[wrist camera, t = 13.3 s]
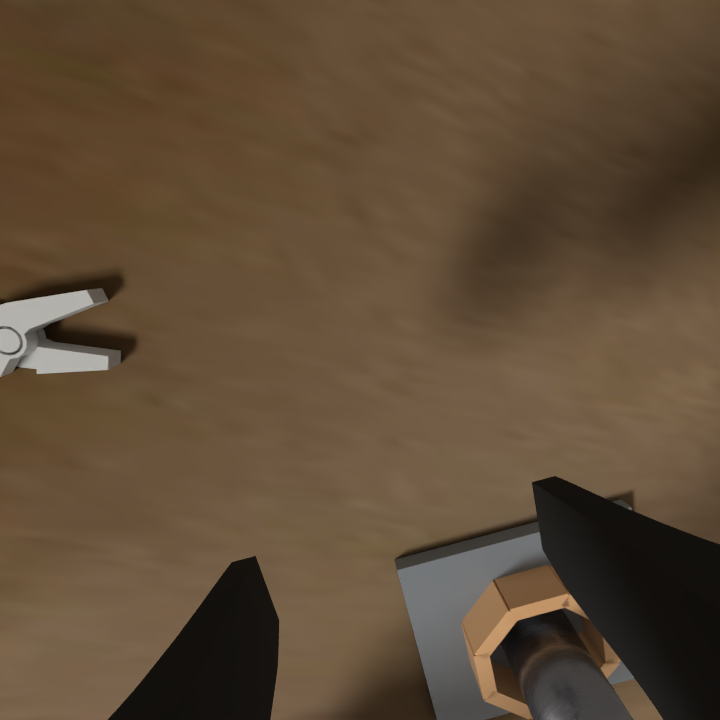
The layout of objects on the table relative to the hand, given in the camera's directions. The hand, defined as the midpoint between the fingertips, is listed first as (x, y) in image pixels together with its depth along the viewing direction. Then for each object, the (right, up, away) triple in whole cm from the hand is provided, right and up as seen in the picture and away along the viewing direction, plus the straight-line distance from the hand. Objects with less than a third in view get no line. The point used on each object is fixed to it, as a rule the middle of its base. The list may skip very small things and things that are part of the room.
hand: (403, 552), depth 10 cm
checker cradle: (+9, -10, +14) cm, 19 cm away
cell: (+9, -10, +13) cm, 19 cm away
